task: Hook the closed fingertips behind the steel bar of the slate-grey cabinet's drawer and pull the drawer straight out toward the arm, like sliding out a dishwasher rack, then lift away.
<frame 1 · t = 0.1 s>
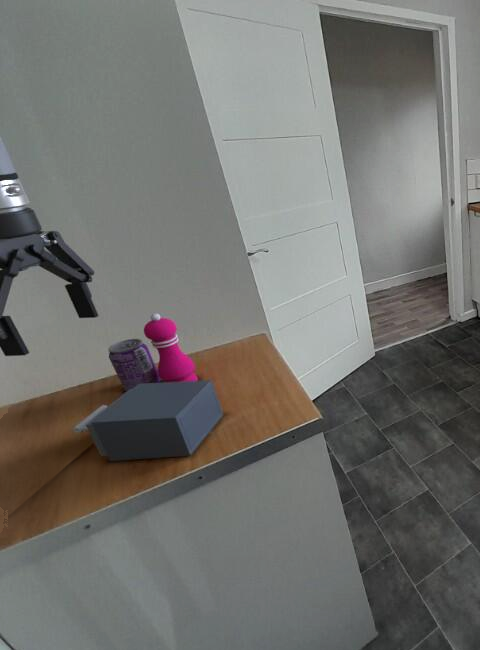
hand: (56, 334, 70), 28 cm above the counter, tool pointing down, fingers open, 13 cm apart
pepper mill: (183, 384, 104), on the counter
drawer: (138, 419, 84), point 5 cm above the counter, slide at 0.5 cm
cabinet: (171, 436, 87), on the counter
beverage can: (144, 386, 103), on the counter
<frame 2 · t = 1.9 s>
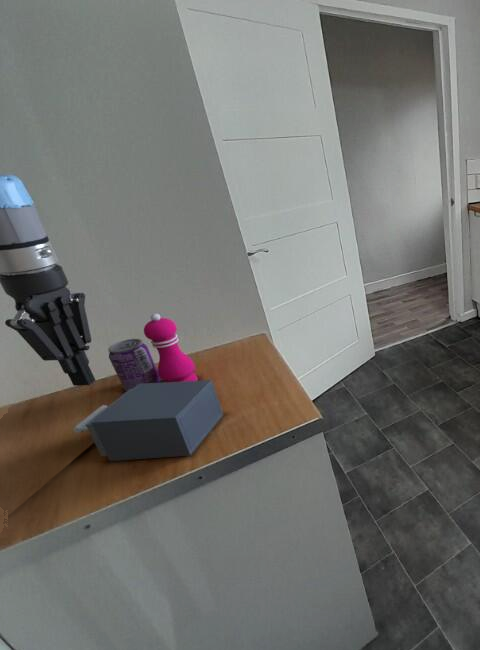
hand: (84, 382, 80), 14 cm above the counter, tool pointing down, fingers closed
nothing on the counter moved.
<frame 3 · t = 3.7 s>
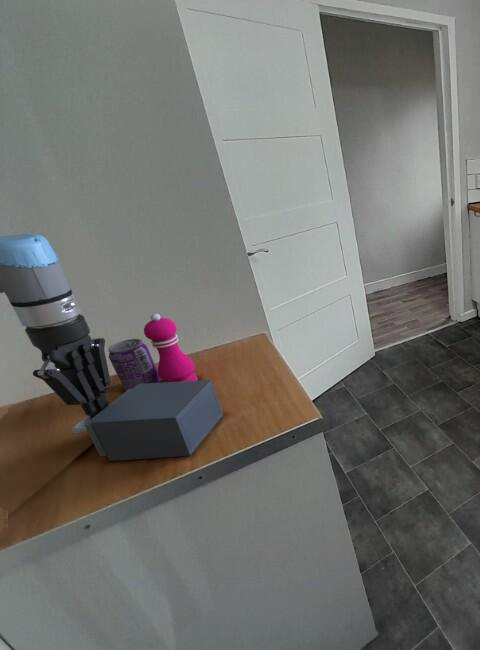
hand: (104, 423, 84), 4 cm above the counter, tool pointing down, fingers closed
nothing on the counter moved.
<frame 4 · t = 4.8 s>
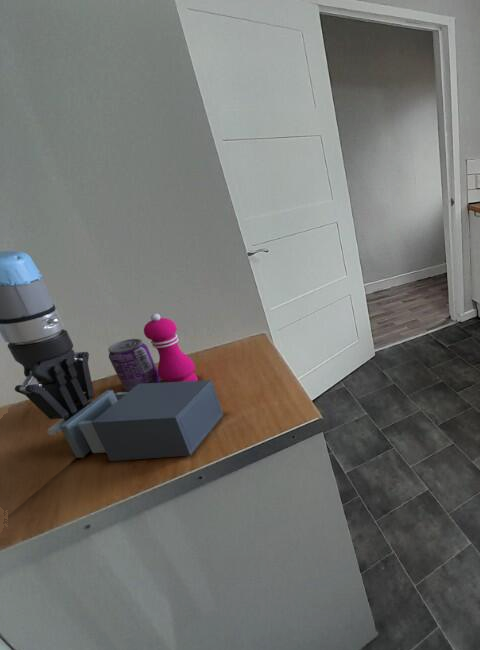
hand: (87, 436, 84), 1 cm above the counter, tool pointing down, fingers closed
drawer: (115, 421, 84), point 5 cm above the counter, slide at 4.9 cm, touching gripper
everything else where it was.
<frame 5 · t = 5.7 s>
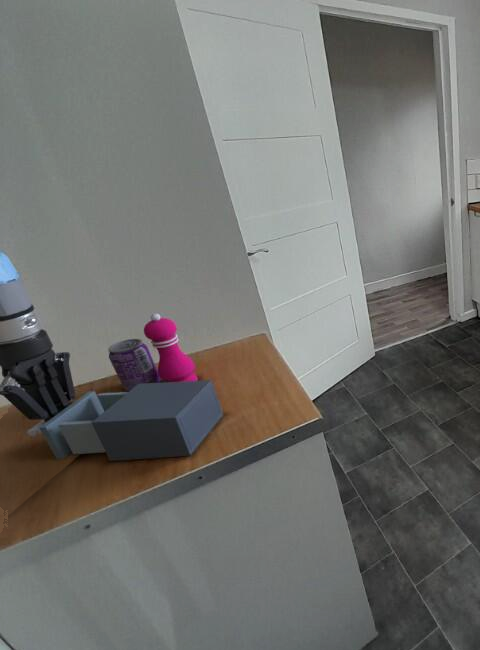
hand: (69, 436, 84), 2 cm above the counter, tool pointing down, fingers closed
drawer: (96, 422, 83), point 5 cm above the counter, slide at 8.3 cm
everything else where it was.
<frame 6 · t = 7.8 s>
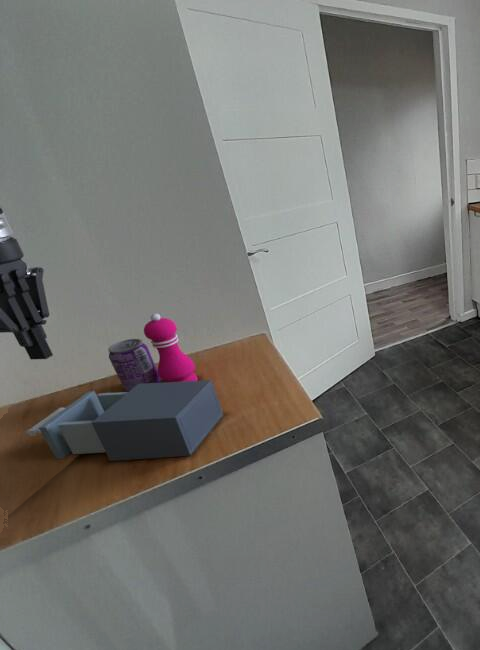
hand: (42, 357, 80), 19 cm above the counter, tool pointing down, fingers closed
nothing on the counter moved.
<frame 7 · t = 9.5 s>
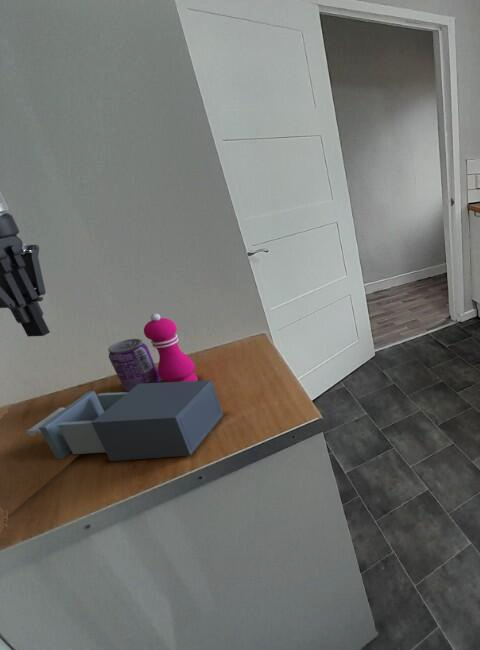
hand: (38, 334, 81), 22 cm above the counter, tool pointing down, fingers closed
nothing on the counter moved.
at the end: drawer slide at 8.4 cm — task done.
